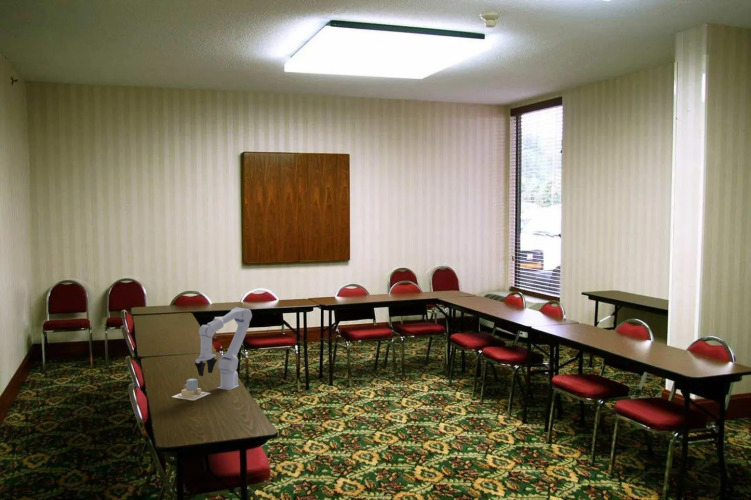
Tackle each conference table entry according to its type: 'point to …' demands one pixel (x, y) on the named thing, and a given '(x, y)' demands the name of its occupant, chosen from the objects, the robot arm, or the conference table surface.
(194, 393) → the maple slab
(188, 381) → the grey rectangular block
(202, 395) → the white square board
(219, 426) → the conference table surface
